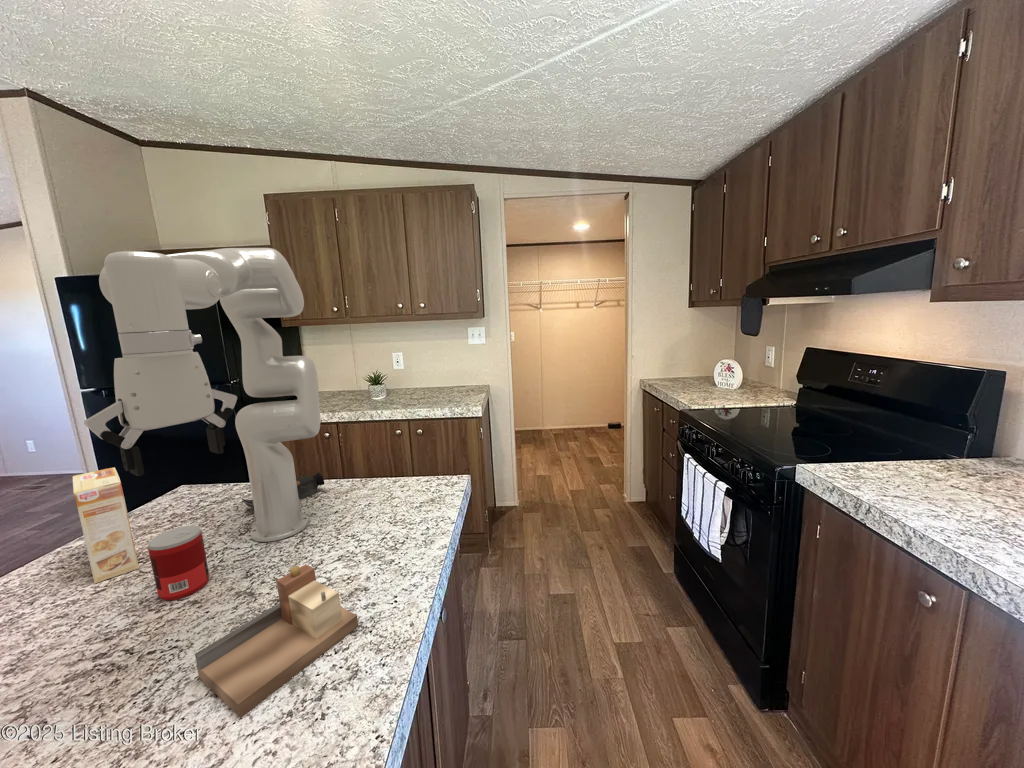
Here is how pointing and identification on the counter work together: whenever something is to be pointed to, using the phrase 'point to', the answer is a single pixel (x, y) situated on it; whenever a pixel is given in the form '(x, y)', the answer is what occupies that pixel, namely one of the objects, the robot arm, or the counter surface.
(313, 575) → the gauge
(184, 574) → the canned food
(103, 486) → the coffeecake box
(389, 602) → the counter surface
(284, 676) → the board
